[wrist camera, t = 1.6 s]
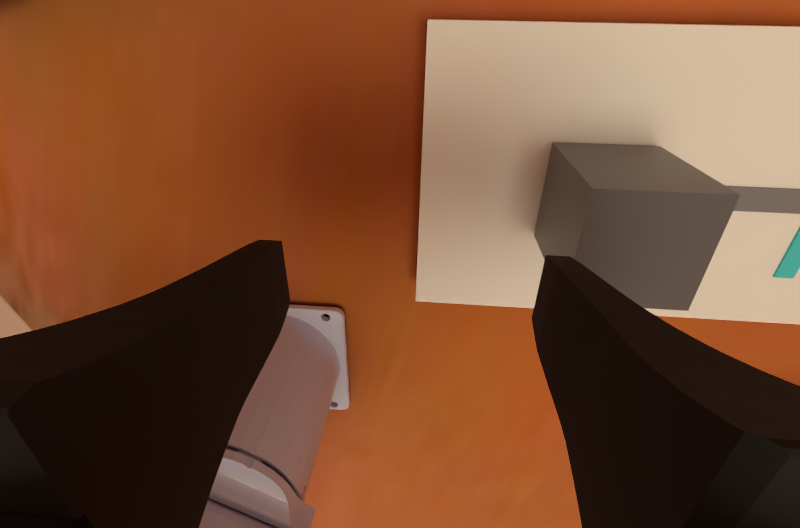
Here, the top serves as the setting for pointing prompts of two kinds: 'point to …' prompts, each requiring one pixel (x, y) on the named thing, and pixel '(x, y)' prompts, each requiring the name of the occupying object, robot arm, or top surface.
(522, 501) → the top surface
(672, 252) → the fader knob
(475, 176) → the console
